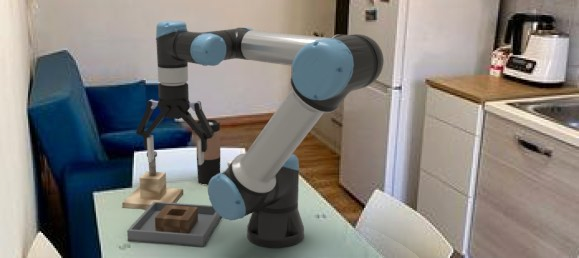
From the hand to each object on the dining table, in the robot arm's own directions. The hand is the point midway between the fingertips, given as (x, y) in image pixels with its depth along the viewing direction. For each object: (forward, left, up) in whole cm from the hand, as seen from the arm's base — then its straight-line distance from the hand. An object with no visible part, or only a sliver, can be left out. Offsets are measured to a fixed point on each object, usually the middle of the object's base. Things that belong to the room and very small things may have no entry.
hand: (176, 162), depth 167 cm
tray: (0, 0, -19) cm, 19 cm away
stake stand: (+13, -18, -19) cm, 29 cm away
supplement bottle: (-9, -30, -19) cm, 37 cm away
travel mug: (+1, -37, -19) cm, 42 cm away
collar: (0, 0, -18) cm, 18 cm away
